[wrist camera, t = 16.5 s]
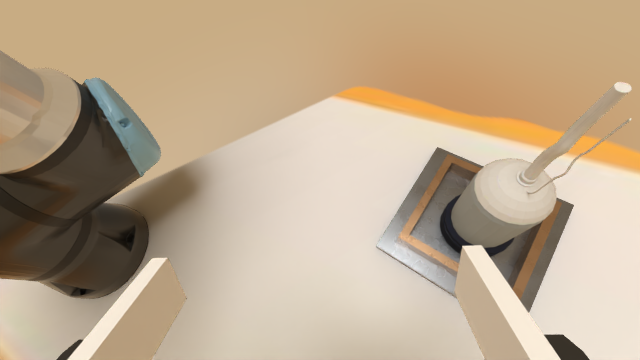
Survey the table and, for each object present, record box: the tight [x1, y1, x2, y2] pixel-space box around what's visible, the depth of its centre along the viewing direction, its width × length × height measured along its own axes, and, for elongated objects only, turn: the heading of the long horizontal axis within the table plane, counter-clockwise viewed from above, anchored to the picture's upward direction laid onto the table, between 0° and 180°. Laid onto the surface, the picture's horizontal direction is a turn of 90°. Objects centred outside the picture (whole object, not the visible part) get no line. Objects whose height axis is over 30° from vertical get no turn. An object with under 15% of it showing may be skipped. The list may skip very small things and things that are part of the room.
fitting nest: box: [376, 147, 574, 313], centre depth 35 cm, size 18×18×4 cm
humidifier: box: [440, 82, 632, 257], centre depth 25 cm, size 8×8×25 cm
